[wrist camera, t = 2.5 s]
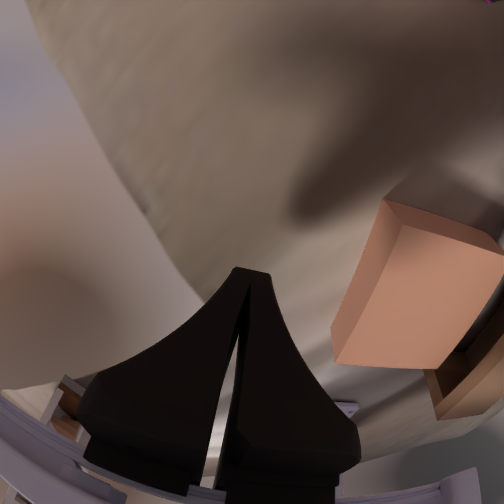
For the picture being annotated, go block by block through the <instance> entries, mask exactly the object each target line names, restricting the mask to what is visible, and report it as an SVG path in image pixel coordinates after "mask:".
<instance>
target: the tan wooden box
mask: <svg viewBox="0 0 504 504" xmlns="http://www.w3.org/2000/svg"><path fill="white" fill-rule="evenodd" d="M423 371H424V374H425V378H426V381H427V384H428V388H429V392H430V395H431V399H432V403H433V406H434V410H435V414H436V418H437V421H439V420H447V419H455V418H461V417H468V416H474V415H479V414H483V413H484V412H485V411H487V410H488V409H489V408H490V407H491V406H492V405H493V404H495V403H496V402H497V401H498V400H499V399H500V398H501V397H502V396H503V395H504V301H503V302H502V304H501V305H500V307H499V308H498V310H497V311H496V313H495V314H494V315H493V317H492V318H491V320H490V321H489V322H488V324H487V325H486V327H485V328H484V329H483V331H482V332H481V333H480V335H479V336H478V337H477V338H476V340H475V341H474V342H473V343H472V345H471V346H470V347H469V348H468V350H467V351H466V352H465V353H458V352H451V353H450V354H449V355H448V357H447V358H446V359H445V360H444V362H443V363H442V364H441V365H440V366H439V367H438V369H423Z"/></svg>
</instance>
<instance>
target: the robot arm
mask: <svg viewBox="0 0 504 504" xmlns="http://www.w3.org/2000/svg"><path fill="white" fill-rule="evenodd" d="M238 334H239V338H238V348H237V358H236V369H235V379H234V387H233V394H232V399H231V404H230V409H229V414H228V418H227V423H226V428H225V433H224V438H223V442H222V447H221V452H220V457H219V461H218V466H217V470H216V475H215V480H214V484H213V489H210V488H205V487H200V481H201V479H202V474H203V470H204V465H205V461H206V456H207V451H208V447H209V442H210V438H211V433H212V428H213V424H214V419H215V415H216V410H217V406H218V401H219V397H220V392H221V388H222V384H223V381H224V378H225V374H226V371H227V368H228V365H229V362H230V359H231V356H232V353H233V350H234V347H235V344H236V341H237V337H238ZM358 410H359V404H357V403H344V402H333V401H332V399H331V398H330V397H329V396H328V394H327V393H326V392H325V391H324V389H323V388H322V387H321V385H320V384H319V382H318V381H317V380H316V378H315V377H314V375H313V374H312V373H311V371H310V370H309V368H308V367H307V365H306V363H305V362H304V360H303V358H302V357H301V355H300V353H299V351H298V349H297V348H296V346H295V344H294V342H293V340H292V338H291V336H290V333H289V331H288V329H287V327H286V324H285V322H284V319H283V317H282V314H281V311H280V309H279V306H278V303H277V300H276V296H275V293H274V289H273V285H272V279H271V276H270V274H268V273H264V272H259V271H254V270H250V269H245V268H240V267H235V268H233V269H232V271H231V273H230V275H229V276H228V278H227V279H226V280H225V282H224V283H223V284H222V286H221V287H220V288H219V289H218V290H217V292H216V293H215V294H214V295H213V296H212V297H211V298H210V299H209V301H208V302H207V303H206V304H205V305H204V306H202V308H200V309H199V310H198V311H197V312H196V313H195V314H194V315H193V316H192V317H191V318H190V319H189V320H187V321H186V322H185V323H184V324H183V325H181V326H180V327H179V328H178V329H176V330H175V331H174V332H172V333H171V334H169V335H168V336H167V337H165V338H164V339H162V340H161V341H159V342H158V343H156V344H155V345H153V346H151V347H150V348H148V349H146V350H144V351H142V352H141V353H139V354H137V355H136V356H134V357H132V358H130V359H128V360H126V361H124V362H121V363H119V364H117V365H115V366H112V367H110V368H108V369H106V370H103V371H101V372H99V373H98V374H97V375H96V376H95V378H94V379H93V380H92V382H91V383H90V384H89V386H88V387H87V389H86V390H85V392H84V394H83V396H82V398H81V400H80V402H79V404H78V406H77V408H76V410H75V416H76V418H77V420H78V421H79V423H80V424H81V425H82V426H83V428H84V429H85V430H86V431H87V432H88V433H89V435H90V436H91V437H90V440H89V442H88V444H87V447H85V446H83V445H81V444H79V443H77V442H75V441H73V440H71V439H69V438H67V437H65V436H64V435H62V434H60V433H58V432H56V431H55V430H53V429H51V428H49V427H48V426H46V425H44V424H43V423H41V422H40V421H38V420H36V419H35V418H33V417H32V416H30V415H29V414H27V413H26V412H24V411H23V410H21V409H20V408H18V407H17V406H16V405H14V404H13V403H11V402H10V401H9V400H7V399H6V398H5V397H3V396H2V395H1V394H0V476H1V477H2V478H3V479H4V480H5V481H6V482H7V483H8V484H9V485H11V486H12V487H13V488H14V489H15V490H16V491H17V492H19V493H20V494H21V495H22V496H24V497H25V498H26V499H27V500H29V501H30V502H31V503H32V504H125V502H126V499H127V494H125V493H123V492H121V491H119V490H117V489H115V488H114V487H112V486H111V485H110V484H108V483H105V482H104V481H101V480H99V479H97V478H95V477H93V476H91V475H89V474H88V473H86V472H84V471H82V468H81V466H82V467H84V468H86V469H89V470H91V471H93V472H95V473H97V474H99V475H102V476H104V477H106V478H108V479H111V480H113V481H116V482H118V483H121V484H123V485H126V486H128V487H131V488H134V489H136V490H139V491H142V492H145V493H148V494H151V495H154V496H158V497H161V498H165V499H168V500H171V501H175V502H179V503H183V504H481V495H480V487H479V481H478V475H477V469H476V467H474V468H471V469H468V470H465V471H462V472H459V473H456V474H454V475H451V476H449V477H447V478H445V479H443V480H441V481H440V482H437V483H433V484H429V485H425V486H421V487H417V488H412V489H407V490H402V491H396V492H390V493H383V494H376V495H368V496H358V497H346V498H343V472H345V471H347V470H349V469H351V468H352V467H354V466H355V465H357V464H358V463H359V462H360V460H361V458H362V457H361V444H360V439H359V434H358V430H357V426H356V425H355V424H354V423H353V422H352V421H351V420H350V419H349V418H350V417H352V416H353V415H354V414H355V413H356V412H357V411H358Z"/></svg>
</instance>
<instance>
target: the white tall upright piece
mask: <svg viewBox="0 0 504 504" xmlns="http://www.w3.org/2000/svg"><path fill="white" fill-rule="evenodd" d="M85 390H86V389H85V388H83V387H82V386H81V385H79V384H78V383H76V382H75V381H74V380H72V379H71V378H69V377H68V376H67V375H66V374H65V375H64V377H63V379H62V380H61V382H60V384H59V385H58V387H57V389H56V390H55V392H54V394H53V396H52V397H51V399H50V401H49V403H48V405H47V407H46V408H45V410H44V412H43V414H42V416H41V418H40V420H39V421H40V422H41V423H43V424H44V425H46V426H48V427H49V428H51V429H53V430H55V431H56V432H58V433H60V434H62V435H64V436H65V437H67V438H69V439H71V440H73V441H75V442H77V443H79V444H81V445H83V446H85V447H87V444H88V442H89V440H90V437H91V436H90V435H89V433H88V432H87V431H86V430H85V429H84V428H83V426H82V425H81V424H80V423H79V421H78V420H77V418H76V416H75V410H76V408H77V406H78V404H79V402H80V400H81V398H82V396H83V394H84V392H85ZM81 468H82V471H84V472H86V473H88V474H89V473H90V470H89V469H86V468H84V467H82V466H81ZM3 504H32V503H31V502H30V501H29V500H27V499H26V498H25V497H24V496H22V495H21V494H20V493H19V492H17V491H16V490H15V489H14V488H13V487H12V486H11V485H10V486H9V489H8V492H7V494H6V497H5V500H4V502H3Z"/></svg>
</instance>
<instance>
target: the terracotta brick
mask: <svg viewBox="0 0 504 504" xmlns="http://www.w3.org/2000/svg"><path fill="white" fill-rule="evenodd" d="M503 275H504V250H503V249H502V248H501V247H500V246H499V245H498V244H497V243H496V242H495V241H494V240H493V239H492V238H491V237H490V236H489V235H488V234H487V233H486V232H483V231H481V230H478V229H476V228H473V227H470V226H468V225H465V224H462V223H459V222H456V221H454V220H451V219H448V218H445V217H442V216H439V215H436V214H433V213H430V212H427V211H424V210H420V209H417V208H414V207H411V206H407V205H404V204H401V203H397V202H394V201H391V200H387V199H382V202H381V205H380V208H379V210H378V213H377V216H376V219H375V222H374V225H373V228H372V230H371V233H370V236H369V238H368V241H367V244H366V246H365V249H364V251H363V254H362V257H361V259H360V262H359V264H358V267H357V269H356V271H355V274H354V276H353V279H352V281H351V283H350V286H349V288H348V290H347V293H346V295H345V297H344V300H343V302H342V304H341V306H340V308H339V311H338V313H337V315H336V317H335V319H334V321H333V324H332V326H331V334H332V344H333V353H334V363H338V364H348V365H359V366H372V367H388V368H410V369H438V367H439V366H440V365H441V364H442V363H443V362H444V360H445V359H446V358H447V357H448V355H449V354H450V353H451V352H452V351H453V349H454V348H455V347H456V345H457V344H458V343H459V342H460V340H461V339H462V338H463V336H464V335H465V334H466V332H467V331H468V330H469V328H470V327H471V325H472V324H473V323H474V321H475V320H476V318H477V317H478V315H479V314H480V312H481V311H482V309H483V308H484V306H485V305H486V303H487V302H488V300H489V298H490V297H491V295H492V293H493V292H494V290H495V288H496V287H497V285H498V283H499V282H500V280H501V278H502V276H503Z"/></svg>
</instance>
